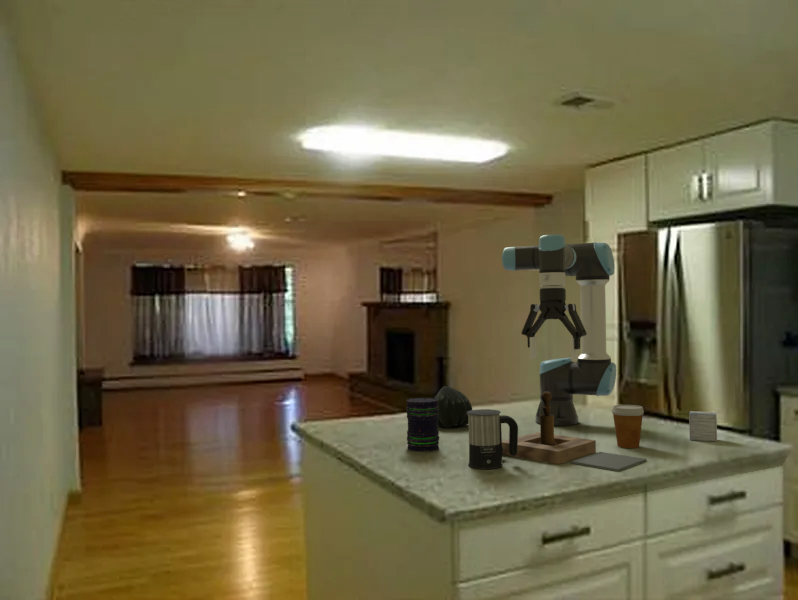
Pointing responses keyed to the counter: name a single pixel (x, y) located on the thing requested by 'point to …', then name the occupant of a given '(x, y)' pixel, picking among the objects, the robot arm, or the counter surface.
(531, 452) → the collar block
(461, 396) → the squash
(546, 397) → the wooden pepper mill
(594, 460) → the mat
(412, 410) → the storage jar
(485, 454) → the milk frother
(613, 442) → the counter surface
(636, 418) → the disposable coffee cup
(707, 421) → the medicine box
